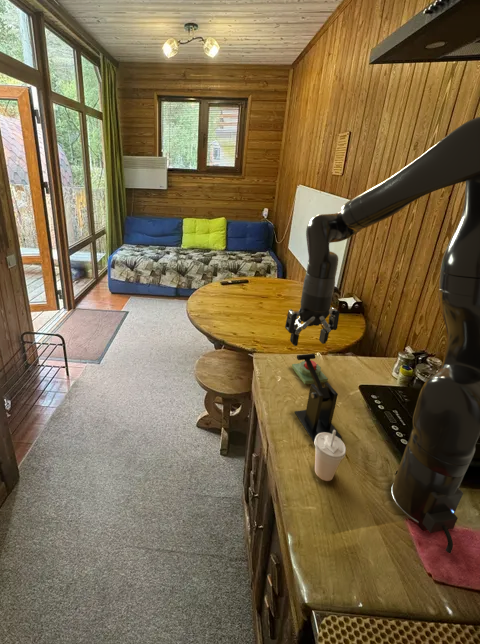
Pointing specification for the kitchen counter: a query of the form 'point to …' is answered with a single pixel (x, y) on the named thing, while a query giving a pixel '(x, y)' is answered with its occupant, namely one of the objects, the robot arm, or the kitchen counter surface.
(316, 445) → the smoothie
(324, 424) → the bracket
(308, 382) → the control block
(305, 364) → the button
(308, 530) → the kitchen counter surface
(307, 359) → the lever
